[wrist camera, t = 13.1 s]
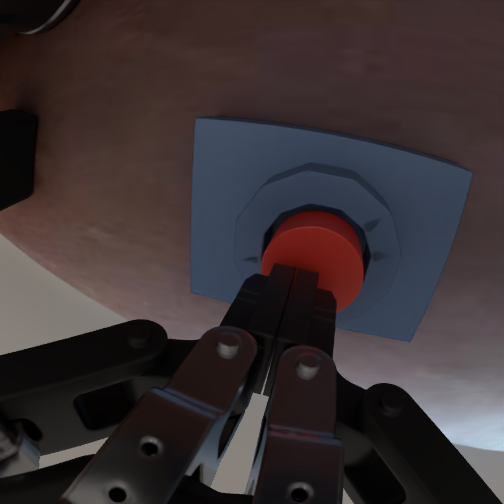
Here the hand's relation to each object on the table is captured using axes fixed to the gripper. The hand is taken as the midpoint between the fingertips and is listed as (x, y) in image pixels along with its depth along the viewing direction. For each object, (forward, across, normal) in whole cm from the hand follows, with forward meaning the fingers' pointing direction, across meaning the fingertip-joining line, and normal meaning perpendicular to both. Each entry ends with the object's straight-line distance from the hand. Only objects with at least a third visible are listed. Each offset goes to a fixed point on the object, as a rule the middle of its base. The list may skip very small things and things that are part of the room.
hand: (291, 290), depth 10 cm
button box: (+6, -1, 0) cm, 6 cm away
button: (+2, -1, 0) cm, 2 cm away
